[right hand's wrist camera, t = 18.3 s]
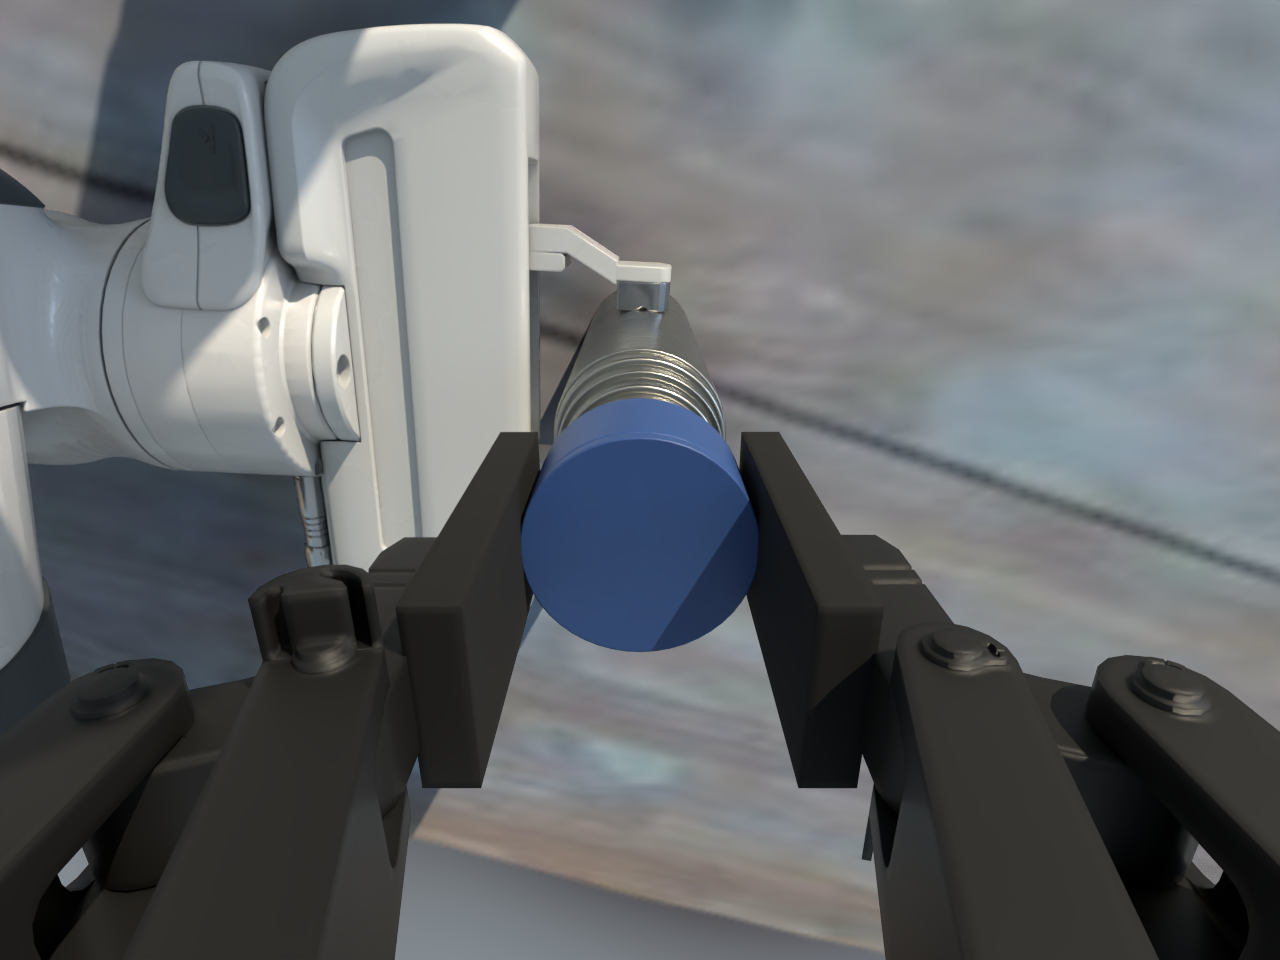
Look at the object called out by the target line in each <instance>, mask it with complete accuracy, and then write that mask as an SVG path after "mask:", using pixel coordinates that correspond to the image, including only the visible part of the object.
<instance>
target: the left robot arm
mask: <svg viewBox="0 0 1280 960" xmlns="http://www.w3.org/2000/svg"><path fill="white" fill-rule="evenodd" d="M44 207H45V205H44V204H43V203H42V202H41V201H40V200H39V199H38V198H37V197H36V196H35V195H34V194H32V193H31V192H30V191H29V190H28V189H27V188H25V187H24V186H23V185H22V184H20V183H19V182H18V181H17V180H15V179H14V178H13V177H11V176H10V175H9V174H7V173H6V172H4V171H3V170H1V169H0V736H1V735H2V734H4V733H5V732H6V731H7V730H9V729H10V728H11V727H12V726H14V725H15V724H16V723H17V722H18V721H20V720H21V719H22V718H23V717H25V716H26V715H27V714H28V713H30V712H31V711H32V710H33V709H35V708H36V707H37V706H38V705H40V704H41V703H42V702H43V701H44V700H46V699H47V698H48V697H49V696H51V695H52V694H54V693H55V692H57V691H58V690H60V689H61V688H63V687H64V686H66V685H67V684H69V683H70V675H69V670H68V666H67V661H66V657H65V653H64V649H63V645H62V641H61V637H60V632H59V628H58V624H57V620H56V616H55V612H54V608H53V603H52V599H51V595H50V591H49V588H48V585H47V583H46V581H45V578H44V577H43V576H42V575H41V568H40V560H39V552H38V544H37V536H36V528H35V520H34V512H33V504H32V496H31V488H30V480H29V473H28V465H27V463H28V464H43V465H76V464H84V463H90V462H94V461H98V460H102V459H106V458H111V457H127V458H133V459H136V460H139V461H142V462H145V463H147V464H150V465H154V466H157V467H161V468H166V469H171V470H181V471H202V472H222V473H244V474H267V475H289V476H293V477H294V484H295V491H296V497H297V504H298V509H299V513H300V517H301V520H302V523H303V527H304V532H305V539H306V542H305V544H304V551H305V558H306V562H307V565H308V567H314V566H320V565H349V566H354V567H358V568H362V569H364V570H365V571H366V572H368V571H369V570H368V569H369V568H370V566H371V565H372V563H373V562H374V561H375V559H376V558H377V557H378V555H379V554H380V553H381V552H382V551H383V550H385V549H386V548H388V547H390V546H391V545H393V544H394V543H396V542H398V541H399V540H401V539H402V538H404V537H438V535H439V533H440V532H441V530H442V528H443V527H444V525H445V523H446V522H447V520H448V518H449V517H450V515H451V514H452V512H453V510H454V509H455V507H456V505H457V504H458V502H459V500H460V499H461V497H462V495H463V494H464V492H465V490H466V489H467V487H468V485H469V484H470V482H471V480H472V479H473V477H474V475H475V474H476V472H477V470H478V469H479V467H480V465H481V464H482V462H483V460H484V459H485V457H486V455H487V454H488V452H489V450H490V449H491V447H492V445H493V444H494V442H495V440H496V439H497V437H498V435H499V434H500V432H538V442H539V459H540V471H541V468H542V465H543V462H544V460H545V458H546V456H547V453H548V451H549V449H550V448H551V446H552V445H549V444H540V271H556V272H562V271H563V270H564V269H565V268H566V267H567V266H568V265H569V264H570V263H571V257H573V258H574V259H576V260H578V261H579V262H581V263H582V264H584V265H585V266H587V267H588V268H590V269H592V270H593V271H595V272H596V273H598V274H599V275H601V276H603V277H604V278H606V279H607V280H609V281H610V282H612V283H614V284H615V285H616V284H617V310H630V311H633V310H638V309H640V308H641V307H644V308H646V309H647V310H648V311H653V312H665V311H668V305H669V293H670V278H671V265H670V264H664V263H651V262H632V261H619V257H618V256H617V255H615V254H614V253H612V252H611V251H609V250H608V249H606V248H605V247H603V246H602V245H600V244H599V243H597V242H596V241H594V240H593V239H591V238H590V237H588V236H587V235H585V234H584V233H582V232H581V231H579V230H578V229H576V228H575V227H573V226H572V225H554V224H539V80H538V75H537V71H536V69H535V68H534V66H533V65H532V63H531V62H530V60H529V59H528V57H527V56H526V55H525V53H524V52H523V51H522V50H521V49H520V48H519V47H518V45H517V44H516V43H515V42H513V41H512V40H511V39H510V38H509V37H508V36H507V35H506V34H505V33H503V32H501V31H499V30H498V29H495V28H492V27H489V26H483V25H473V24H410V25H394V26H381V27H372V28H363V29H355V30H347V31H340V32H334V33H329V34H324V35H320V36H317V37H313V38H310V39H308V40H306V41H303V42H301V43H299V44H297V45H296V46H294V47H292V48H291V49H290V50H288V51H287V52H286V53H285V54H284V55H283V56H282V57H281V58H280V59H279V61H278V62H277V63H276V64H275V66H274V68H273V70H272V71H269V70H265V69H262V68H259V67H254V66H248V65H243V64H237V63H230V62H218V61H189V62H186V63H183V64H181V65H179V66H178V67H177V68H176V70H175V71H174V73H173V75H172V77H171V80H170V83H169V87H168V93H167V100H166V109H165V119H164V129H163V138H162V147H161V156H160V163H159V171H158V179H157V185H156V191H155V198H154V204H153V209H152V214H151V217H148V218H143V219H139V220H135V221H131V222H126V223H121V224H99V223H94V222H91V221H87V220H85V219H82V218H79V217H76V216H73V215H70V214H66V213H63V212H59V211H53V210H45V209H44ZM533 600H534V594H533V597H532V601H531V605H532V602H533ZM531 605H530V607H531Z"/></svg>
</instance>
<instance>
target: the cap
mask: <svg viewBox="0 0 1280 960" xmlns="http://www.w3.org/2000/svg"><path fill="white" fill-rule="evenodd" d="M758 539H759V527H758V521H757V518H756V515H755V512H754V509H753V506H752V503H751V501H750V498H749V495H748V492H747V490H746V487H745V484H744V482H743V479H742V476H741V473H740V471H739V468H738V465H737V463H736V460H735V458H734V456H733V454H732V452H731V450H730V448H729V446H728V445H727V443H726V442H725V440H724V439H723V437H722V436H721V435H720V434H719V433H718V432H717V431H716V429H715V428H714V427H713V426H711V425H710V424H709V423H708V422H707V421H705V420H704V419H703V418H701V417H700V416H698V415H697V414H695V413H694V412H692V411H690V410H688V409H686V408H683V407H681V406H679V405H676V404H673V403H670V402H666V401H661V400H655V399H643V398H636V399H624V400H619V401H614V402H610V403H607V404H604V405H601V406H598V407H596V408H594V409H592V410H590V411H588V412H586V413H585V414H583V415H582V416H580V417H579V418H577V419H576V420H574V421H573V422H572V423H571V424H570V425H569V426H568V427H566V428H565V429H564V430H563V432H562V433H561V434H560V435H559V436H558V437H557V439H556V440H555V441H554V443H553V445H552V446H551V448H550V449H549V451H548V453H547V456H546V458H545V460H544V462H543V465H542V468H541V471H540V473H539V476H538V479H537V481H536V484H535V487H534V490H533V492H532V495H531V498H530V500H529V503H528V506H527V509H526V512H525V515H524V518H523V522H522V527H521V546H522V560H523V570H524V573H525V577H526V580H527V582H528V584H529V586H530V588H531V590H532V592H533V594H534V596H535V597H536V599H537V600H538V602H539V603H540V605H541V606H542V607H543V608H544V609H545V610H546V612H547V613H548V614H549V615H550V616H551V617H552V618H553V619H554V620H555V621H557V622H558V623H559V624H560V625H561V626H563V627H564V628H565V629H567V630H568V631H570V632H571V633H573V634H575V635H576V636H578V637H580V638H582V639H584V640H586V641H589V642H591V643H594V644H596V645H599V646H603V647H607V648H610V649H615V650H622V651H631V652H648V651H659V650H664V649H670V648H674V647H677V646H680V645H684V644H686V643H689V642H691V641H694V640H696V639H698V638H700V637H702V636H703V635H705V634H707V633H709V632H711V631H712V630H713V629H715V628H716V627H717V626H719V625H720V624H721V623H723V622H724V621H725V620H726V619H727V618H728V617H729V616H730V615H731V614H732V613H733V612H734V611H735V609H736V608H737V607H738V606H739V604H740V603H741V602H742V600H743V599H744V597H745V595H746V594H747V592H748V591H749V589H750V586H751V584H752V582H753V579H754V577H755V574H756V567H757V554H758Z"/></svg>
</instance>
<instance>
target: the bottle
mask: <svg viewBox="0 0 1280 960" xmlns="http://www.w3.org/2000/svg"><path fill="white" fill-rule="evenodd" d="M636 398H643V399H655V400H661V401H666V402H670V403H673V404H676V405H679V406H681V407H683V408H686V409H688V410H690V411H692V412H694V413H695V414H697V415H698V416H700V417H701V418H703V419H704V420H705V421H707V422H708V423H709V424H710V425H711V426H713V427H714V428H715V429H716V431H717V432H718V433H719V434H720V435H721V436H722V437H723V439H724V440H725V442H726V422H725V416H724V411H723V408H722V405H721V402H720V399H719V396H718V394H717V392H716V389H715V387H714V384H713V382H712V379H711V377H710V374H709V372H708V369H707V367H706V364H705V362H704V359H703V357H702V354H701V352H700V349H699V347H698V344H697V342H696V339H695V337H694V334H693V332H692V329H691V327H690V324H689V322H688V319H687V317H686V315H685V313H684V311H683V309H682V308H681V306H680V305H679V304H678V303H677V301H676V300H675V299H674V298H672V297H671V296H670V295H669V305H668V311H665V312H653V311H648V310H647V309H646V308H644V307H641V308H640V309H638V310H633V311H630V310H617V291H616V292H614V293H613V294H611V295H610V296H609V297H607V298H606V299H605V300H604V301H603V302H602V304H601V305H600V306H599V307H598V309H597V311H596V312H595V315H594V317H593V319H592V322H591V324H590V327H589V329H588V332H587V334H586V337H585V339H584V342H583V344H582V347H581V349H580V352H579V354H578V357H577V359H576V362H575V364H574V367H573V369H572V372H571V374H570V377H569V379H568V382H567V384H566V387H565V389H564V392H563V394H562V397H561V399H560V402H559V404H558V408H557V411H556V416H555V423H554V441H555V440H556V439H557V437H558V436H559V435H560V434H561V433H562V432H563V430H564V429H565V428H566V427H568V426H569V425H570V424H571V423H572V422H573V421H574V420H576V419H577V418H579V417H580V416H582V415H583V414H585V413H586V412H588V411H590V410H592V409H594V408H596V407H598V406H601V405H604V404H607V403H610V402H614V401H619V400H624V399H636Z"/></svg>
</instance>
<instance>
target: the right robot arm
mask: <svg viewBox="0 0 1280 960" xmlns="http://www.w3.org/2000/svg"><path fill="white" fill-rule="evenodd" d="M739 471H740V473H741V476H742V479H743V482H744V484H745V487H746V490H747V492H748V495H749V498H750V501H751V503H752V506H753V509H754V512H755V515H756V518H757V521H758V527H759V539H758V554H757V567H756V574H755V577H754V579H753V582H752V584H751V586H750V589H749V591H748V592H747V594H746V595H747V599H748V603H749V606H750V610H751V614H752V617H753V621H754V625H755V629H756V632H757V636H758V640H759V643H760V647H761V651H762V655H763V658H764V662H765V666H766V669H767V673H768V677H769V680H770V684H771V688H772V692H773V695H774V699H775V703H776V706H777V710H778V714H779V718H780V721H781V725H782V729H783V732H784V736H785V740H786V743H787V747H788V751H789V755H790V758H791V762H792V766H793V769H794V773H795V777H796V781H797V784H798V788H857V784H858V778H859V771H860V764H861V758H862V754H863V757H864V759H865V762H866V764H867V767H868V769H869V772H870V774H871V776H872V779H873V781H874V786H873V792H872V798H871V804H870V811H869V817H868V823H867V829H866V835H865V841H864V848H863V854H862V859H863V860H869V861H871V858H872V853H874V861H875V870H876V879H877V888H878V896H879V905H880V914H881V923H882V931H883V940H884V949H885V957H886V960H1280V732H1279V731H1278V730H1277V729H1275V728H1274V727H1273V726H1272V725H1270V724H1269V723H1268V722H1267V721H1265V720H1264V719H1263V718H1262V717H1261V716H1259V715H1258V714H1257V713H1256V712H1254V711H1253V710H1252V709H1251V708H1249V707H1248V706H1247V705H1246V704H1244V703H1243V702H1242V701H1241V700H1239V699H1238V698H1237V697H1236V696H1234V695H1233V694H1232V693H1231V692H1229V691H1228V690H1226V689H1225V688H1223V687H1222V686H1220V685H1218V684H1217V683H1215V682H1214V681H1212V680H1211V679H1209V678H1208V677H1206V676H1204V675H1201V674H1199V673H1197V672H1195V671H1192V670H1190V669H1188V668H1186V667H1185V666H1183V665H1181V664H1178V663H1175V662H1171V661H1168V660H1167V661H1164V659H1159V658H1154V657H1142V656H1131V655H1124V656H1118V657H1112V658H1108V659H1106V660H1105V661H1104V662H1103V663H1101V664H1100V665H1099V666H1098V667H1097V671H1096V674H1095V677H1094V681H1093V684H1092V687H1088V686H1083V685H1078V684H1073V683H1067V682H1062V681H1057V680H1052V679H1047V678H1042V677H1038V676H1034V675H1030V674H1026V673H1023V672H1022V670H1021V668H1020V666H1019V663H1018V661H1017V660H1016V658H1015V657H1014V656H1013V655H1012V653H1011V652H1010V651H1009V650H1008V648H1007V647H1005V646H1004V645H1002V644H1001V643H999V642H998V641H996V640H995V639H993V638H992V637H990V636H989V635H987V634H984V633H982V632H979V631H977V630H974V629H972V628H969V627H966V626H961V625H956V624H954V623H953V622H952V621H951V619H950V618H949V616H948V615H947V614H946V612H945V611H944V610H943V608H942V607H941V606H940V604H939V603H938V602H937V600H936V599H935V598H934V596H933V595H932V594H931V592H930V591H929V590H928V588H927V587H926V585H925V584H922V580H921V579H920V577H919V576H918V575H917V573H916V572H915V571H914V570H912V569H911V565H910V564H909V563H908V561H907V560H906V559H905V557H904V556H903V555H902V553H901V552H900V550H899V549H897V548H896V547H894V546H892V545H891V544H889V543H888V542H886V541H884V540H883V539H881V538H879V537H878V536H876V535H841V534H840V533H839V531H838V529H837V528H836V526H835V524H834V523H833V521H832V519H831V518H830V516H829V514H828V513H827V511H826V509H825V508H824V506H823V504H822V503H821V501H820V499H819V498H818V496H817V494H816V493H815V491H814V489H813V488H812V486H811V484H810V483H809V481H808V479H807V478H806V476H805V474H804V473H803V471H802V469H801V468H800V466H799V464H798V463H797V461H796V459H795V458H794V456H793V454H792V453H791V451H790V449H789V448H788V446H787V444H786V443H785V441H784V439H783V438H782V436H781V434H780V433H779V432H742V433H741V451H740V469H739ZM539 473H540V459H539V442H538V432H500V434H499V435H498V437H497V439H496V440H495V442H494V444H493V445H492V447H491V449H490V450H489V452H488V454H487V455H486V457H485V459H484V460H483V462H482V464H481V465H480V467H479V469H478V470H477V472H476V474H475V475H474V477H473V479H472V480H471V482H470V484H469V485H468V487H467V489H466V490H465V492H464V494H463V495H462V497H461V499H460V500H459V502H458V504H457V505H456V507H455V509H454V510H453V512H452V514H451V515H450V517H449V518H448V520H447V522H446V523H445V525H444V527H443V528H442V530H441V532H440V533H439V535H438V537H404V538H402V539H401V540H399V541H398V542H396V543H394V544H393V545H391V546H390V547H388V548H386V549H385V550H383V551H382V552H381V553H380V554H379V555H378V557H377V558H376V559H375V561H374V562H373V563H372V565H371V566H370V568H369V569H368V570H369V571H368V572H366V571H365V570H364V569H362V568H358V567H354V566H349V565H320V566H314V567H308V568H303V569H299V570H296V571H293V572H290V573H287V574H284V575H281V576H278V577H276V578H275V579H273V580H271V581H269V582H268V583H266V584H264V585H262V586H261V587H259V588H258V589H257V590H256V591H255V592H254V593H253V594H252V595H251V597H250V598H249V599H248V601H249V605H250V609H251V613H252V618H253V622H254V626H255V630H256V634H257V638H258V642H259V647H260V651H261V655H262V659H263V662H262V665H261V667H260V669H259V671H258V673H257V675H256V676H254V677H250V678H247V679H243V680H239V681H233V682H228V683H223V684H218V685H213V686H208V687H203V688H198V689H192V690H188V686H187V683H186V679H185V676H184V673H183V669H181V668H180V667H179V666H177V665H176V664H175V663H174V662H172V661H167V660H161V659H155V658H152V659H141V660H128V661H123V662H118V663H117V664H115V665H114V664H110V665H107V666H104V667H101V668H98V669H97V670H95V671H94V672H91V673H89V674H87V675H84V676H82V677H80V678H78V679H75V680H74V681H72V682H70V683H69V684H67V685H66V686H64V687H63V688H61V689H60V690H58V691H57V692H55V693H54V694H52V695H51V696H49V697H48V698H47V699H46V700H44V701H43V702H42V703H41V704H40V705H38V706H37V707H36V708H35V709H33V710H32V711H31V712H30V713H28V714H27V715H26V716H25V717H23V718H22V719H21V720H20V721H18V722H17V723H16V724H15V725H14V726H12V727H11V728H10V729H9V730H7V731H6V732H5V733H4V734H2V735H1V736H0V960H394V959H395V951H396V942H397V933H398V924H399V916H400V907H401V898H402V889H403V880H404V872H405V863H406V854H407V845H408V837H409V828H410V819H411V811H410V805H409V798H408V792H407V786H406V784H407V781H408V779H409V776H410V774H411V771H412V769H413V766H414V764H415V761H416V759H417V756H418V761H419V767H420V774H421V781H422V787H423V788H481V786H482V783H483V779H484V775H485V771H486V768H487V764H488V760H489V757H490V753H491V749H492V745H493V742H494V738H495V734H496V731H497V727H498V723H499V720H500V716H501V712H502V708H503V705H504V701H505V697H506V694H507V690H508V686H509V682H510V679H511V675H512V671H513V668H514V664H515V660H516V657H517V653H518V649H519V645H520V642H521V638H522V634H523V631H524V627H525V623H526V619H527V616H528V612H529V608H530V605H531V601H532V597H533V592H532V590H531V588H530V586H529V584H528V582H527V580H526V577H525V573H524V570H523V560H522V546H521V527H522V522H523V518H524V515H525V512H526V509H527V506H528V503H529V500H530V498H531V495H532V492H533V490H534V487H535V484H536V481H537V479H538V476H539ZM1198 844H1200V845H1201V846H1202V847H1203V848H1204V849H1205V851H1206V852H1207V853H1208V854H1209V855H1210V856H1211V857H1212V858H1213V859H1214V861H1215V862H1216V863H1217V864H1218V865H1219V866H1220V867H1221V868H1222V869H1223V870H1224V871H1223V873H1222V875H1221V878H1220V880H1219V882H1218V883H1217V884H1216V885H1215V884H1213V883H1212V882H1211V881H1210V880H1209V879H1208V878H1206V877H1205V876H1204V875H1203V874H1202V873H1201V871H1200V870H1199V869H1198V868H1197V867H1196V866H1195V865H1194V863H1193V862H1192V859H1193V857H1194V854H1195V852H1196V849H1197V847H1198ZM81 847H82V848H83V851H84V853H85V856H86V858H87V861H88V863H89V865H88V866H87V867H86V868H85V869H84V871H83V872H82V873H81V874H80V875H79V876H78V877H77V878H76V879H75V880H74V881H73V882H71V883H70V884H69V885H68V886H67V887H64V886H63V885H62V884H61V882H60V879H59V877H58V875H57V874H58V873H59V872H60V871H61V870H62V869H63V867H64V866H65V865H66V864H67V863H68V862H69V861H70V860H71V858H72V857H73V856H74V855H75V854H76V853H77V852H78V851H79V850H80V849H81Z"/></svg>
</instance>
